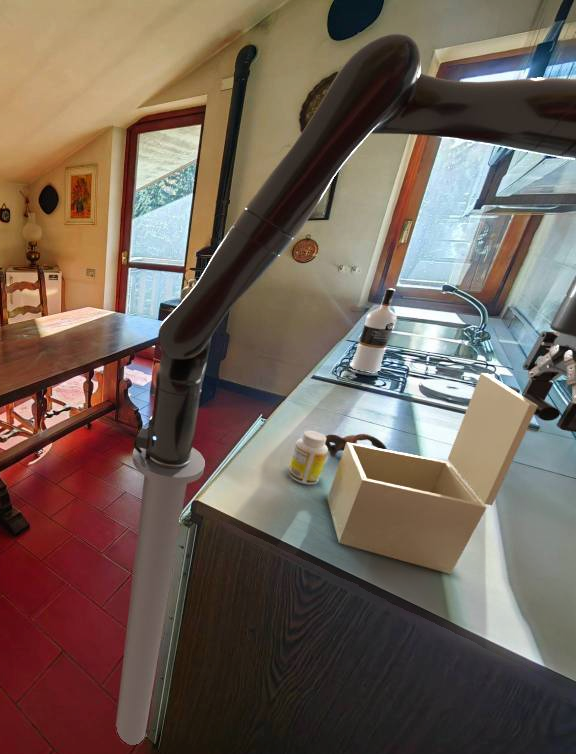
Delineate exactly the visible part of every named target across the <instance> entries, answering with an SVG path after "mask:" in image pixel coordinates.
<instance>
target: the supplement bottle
mask: <svg viewBox="0 0 576 754" xmlns="http://www.w3.org/2000/svg"><path fill="white" fill-rule="evenodd" d="M325 436H326V435H325V434H323V433H322V432H321V433H320V432H318V431H314V430H305V431H303V434H302V436H301V438H298V440H296V442H295V446H294V450H293V453H292V457H291V461H290V464H289V468H288V475H289V477H290V478H291V479H292V480H294V481H296V482H298V483H300V484H303V485H316V484H317V483H318V482H319V480H320V477H321V475H322V471H323V468H324V464H325V461H326V459H327V455H328V452H329V451H328V448H327V446H326V445H325V442H326V437H325Z"/></svg>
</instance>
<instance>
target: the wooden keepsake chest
mask: <svg viewBox="0 0 576 754" xmlns="http://www.w3.org/2000/svg"><path fill="white" fill-rule="evenodd" d="M327 503H328V507H329V510H330V515H331V518H332V519H331V520H332V522H333V526H334V530H335V533H336V537H337V540H338V543H339V544H340V545H341V544H342V545H344V546H348V547H350V548H351V547H352V548H355V549H359V550H363V551H366V552H369V553H373V554H377V555H380V556H384V557H387V558H391V559H395V560H399V561H402V562H406V563H409V564H413V565H416V566H420V567H423V568H427V569H431V570H434V571H438V572H441V573H445V574H449V575H451V574H452V572H453V571H454V569H455V567H456V566H457V563H458V562H459V559H460V558H461V557H462V554H463V553H464V550H465V548H466V547H467V545H468V543H469V541H470V539H471V537H472V536H473V534H474V532H475V530H476V528H477V526H478V525H479V522H480V521H481V519H482V517H483V516H484V513H485V512H486V510H487V506H486V504H484V503H483V501H482V500H481V499H480V498H479V496H478V495H477V494H476V493H475V492H474V490H473V489H472V488H471V487H470V486H469V484H468V483H467V482H466V481H465V479H464V478H463V477H462V476H461V475H460V473H459V472H458V471H457V470H456V469H455V467H454V466H453V465H452V464H451V462H450V461H447V460H441V459H437V458H431V457H426V456H420V455H416V454H411V453H406V452H400V451H395V450H391V449H390V450H389V449H387V450H385V449H380V448H377V447H375V446H369V445H364V444H359V443H357V444H354V443H349V442H346V445H345V448H344V451H342V454H341V457H340V460H339V463H338V466H337V469H336V472H335V475H334V477H333V480H332V483H331V487H330V489H329V491H328V495H327Z"/></svg>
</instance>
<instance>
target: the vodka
mask: <svg viewBox="0 0 576 754" xmlns="http://www.w3.org/2000/svg"><path fill="white" fill-rule="evenodd" d="M395 293H396V289H394V288H386V289H385V291H384V294H383V297H382V300H381V303H380V306H379V308H376V309H374V310H372V311H369V312H368V313H367V315H366V316H365V322H364V323H363V324H364V325H363V329H362V332H361V335H360V338H359V341H358V343H357V347H356V350H355V353H354V355H353V357H352V360H351V362H350V363H349V365H350V366H351V367H352V368H353V369H356V370H363V371H370V372H378V371H380V370H382V362H383V359H384V356H385V352H386V351H387V350H388V349H387V347H388V345H389V341H390V338H391V335H392V333H393V330H394V328H395V325H396V323H397V320H398V316H397V314H396V313H395V312H394V311H392V310H391V305H392V301H393V299H394V296H395ZM348 370H349V371H350V372H352V373H353V374H357V375H361V376H367V377H375V376H378V375H379V374H365V373H361V372H357V371H354V370H352V369H350V368H349V367H348ZM380 372H381V371H380Z"/></svg>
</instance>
